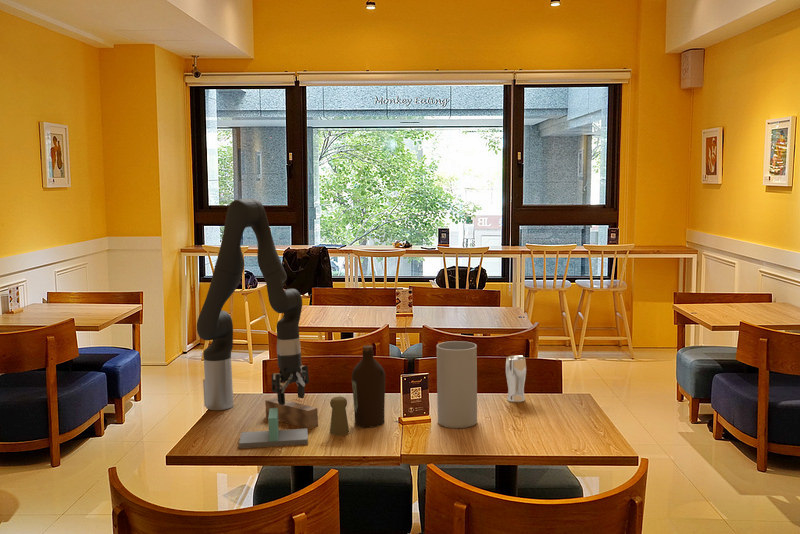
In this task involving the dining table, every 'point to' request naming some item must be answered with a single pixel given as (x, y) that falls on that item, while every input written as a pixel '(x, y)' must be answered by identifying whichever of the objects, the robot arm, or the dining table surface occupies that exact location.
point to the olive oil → (368, 390)
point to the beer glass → (515, 377)
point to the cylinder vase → (457, 384)
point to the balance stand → (273, 435)
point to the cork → (339, 416)
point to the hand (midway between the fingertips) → (291, 401)
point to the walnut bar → (294, 413)
